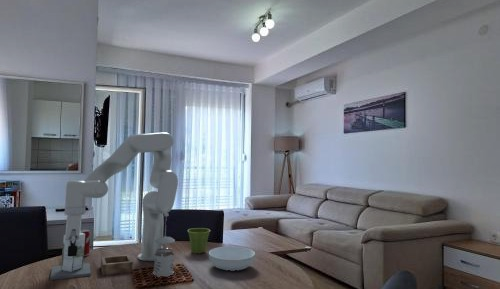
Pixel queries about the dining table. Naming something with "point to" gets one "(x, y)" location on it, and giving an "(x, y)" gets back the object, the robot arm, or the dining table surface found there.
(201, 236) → the plant pot
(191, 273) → the dining table surface
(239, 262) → the serving bowl
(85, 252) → the soda can
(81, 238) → the syrup box
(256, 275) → the dining table surface
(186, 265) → the dining table surface
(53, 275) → the mat
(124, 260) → the holder
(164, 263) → the french press
